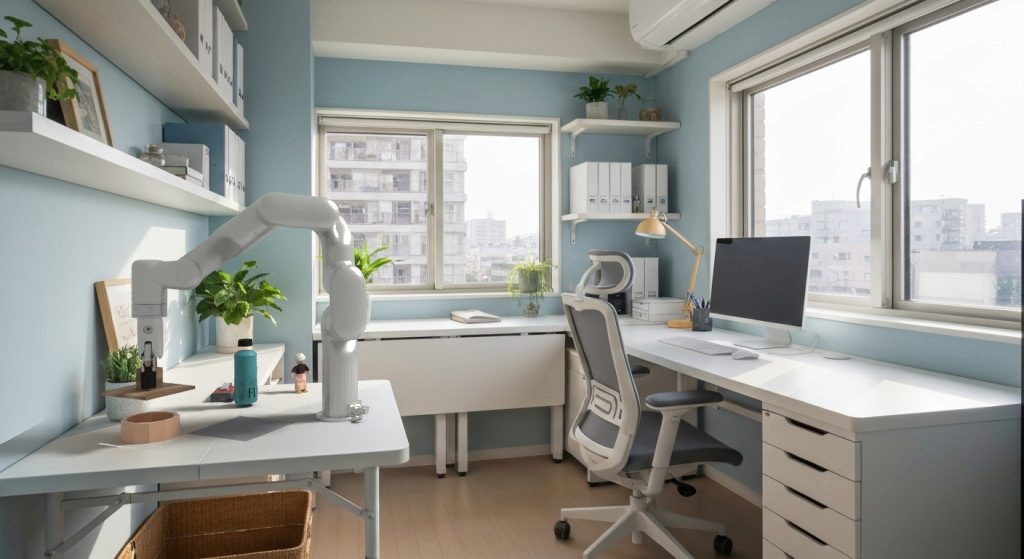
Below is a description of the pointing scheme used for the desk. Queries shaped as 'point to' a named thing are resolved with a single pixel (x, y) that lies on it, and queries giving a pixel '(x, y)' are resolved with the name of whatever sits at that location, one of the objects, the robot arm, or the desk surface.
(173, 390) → the lid
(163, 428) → the bowl
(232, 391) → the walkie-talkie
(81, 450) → the desk surface
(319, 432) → the desk surface
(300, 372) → the grandmother figurine
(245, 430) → the mat
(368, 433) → the desk surface
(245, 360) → the beverage bottle
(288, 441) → the desk surface
